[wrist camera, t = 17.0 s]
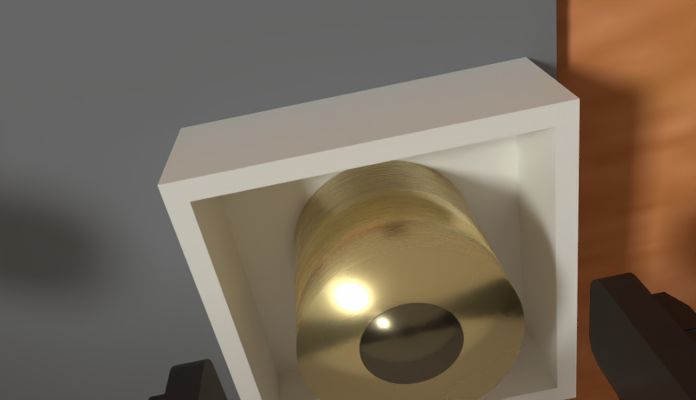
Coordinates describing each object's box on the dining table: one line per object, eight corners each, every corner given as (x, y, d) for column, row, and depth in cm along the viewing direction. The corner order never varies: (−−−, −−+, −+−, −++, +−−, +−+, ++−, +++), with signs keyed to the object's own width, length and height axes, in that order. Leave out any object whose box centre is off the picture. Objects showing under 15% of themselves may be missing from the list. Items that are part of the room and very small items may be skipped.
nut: (276, 178, 15) (274, 273, 11) (467, 144, 15) (524, 228, 11) (311, 325, 17) (318, 442, 14) (476, 295, 17) (525, 405, 14)
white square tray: (180, 128, 14) (157, 185, 12) (526, 56, 14) (579, 98, 12) (267, 377, 19) (263, 459, 16) (535, 322, 18) (576, 397, 16)
